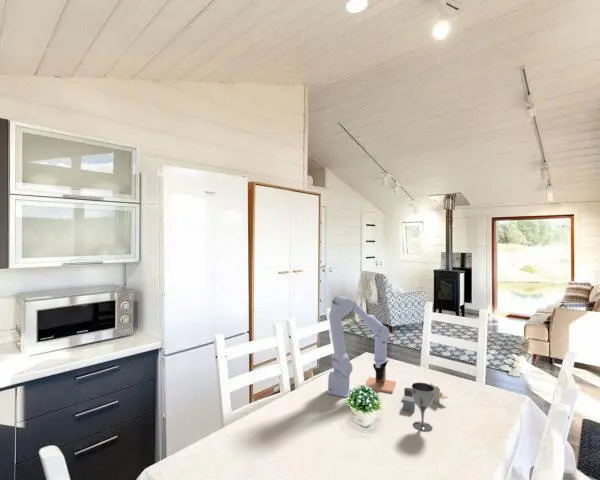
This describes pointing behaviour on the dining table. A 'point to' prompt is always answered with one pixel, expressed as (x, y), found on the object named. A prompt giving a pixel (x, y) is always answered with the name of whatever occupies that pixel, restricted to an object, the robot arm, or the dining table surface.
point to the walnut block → (382, 378)
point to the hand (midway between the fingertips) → (380, 377)
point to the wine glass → (422, 403)
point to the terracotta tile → (381, 385)
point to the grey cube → (408, 404)
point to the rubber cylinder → (408, 392)
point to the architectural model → (437, 394)
